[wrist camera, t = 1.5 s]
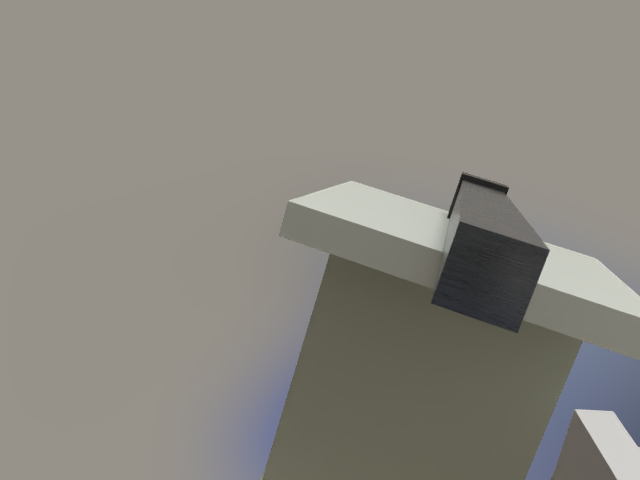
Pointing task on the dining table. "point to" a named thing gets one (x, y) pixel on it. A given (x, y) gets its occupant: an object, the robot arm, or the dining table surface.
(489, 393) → the stand
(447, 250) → the rod
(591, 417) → the robot arm
